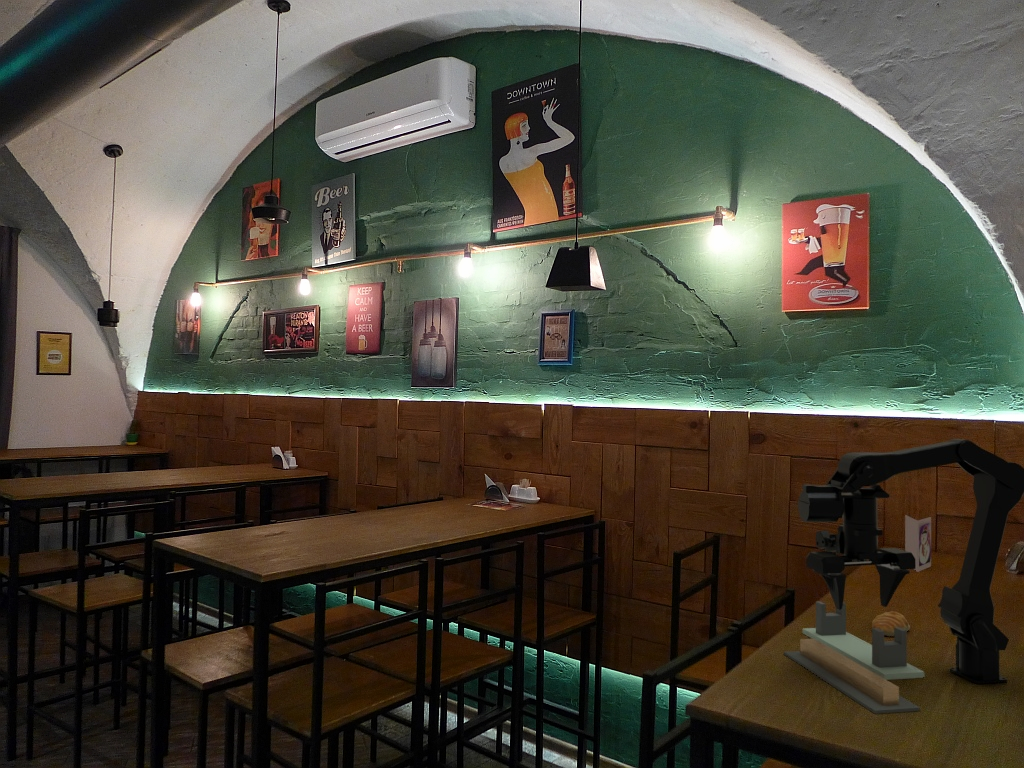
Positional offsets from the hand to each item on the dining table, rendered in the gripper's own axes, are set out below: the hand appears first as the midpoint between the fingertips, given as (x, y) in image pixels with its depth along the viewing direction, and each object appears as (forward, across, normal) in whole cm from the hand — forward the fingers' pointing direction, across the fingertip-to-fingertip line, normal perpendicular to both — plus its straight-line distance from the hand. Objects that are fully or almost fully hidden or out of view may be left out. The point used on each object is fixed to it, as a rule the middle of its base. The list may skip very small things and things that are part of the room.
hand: (861, 607), depth 132 cm
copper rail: (+11, +5, +2) cm, 13 cm away
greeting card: (+13, -72, -74) cm, 105 cm away
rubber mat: (+12, +5, +2) cm, 13 cm away
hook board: (+12, -6, -10) cm, 17 cm away
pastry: (+13, -22, -21) cm, 33 cm away
